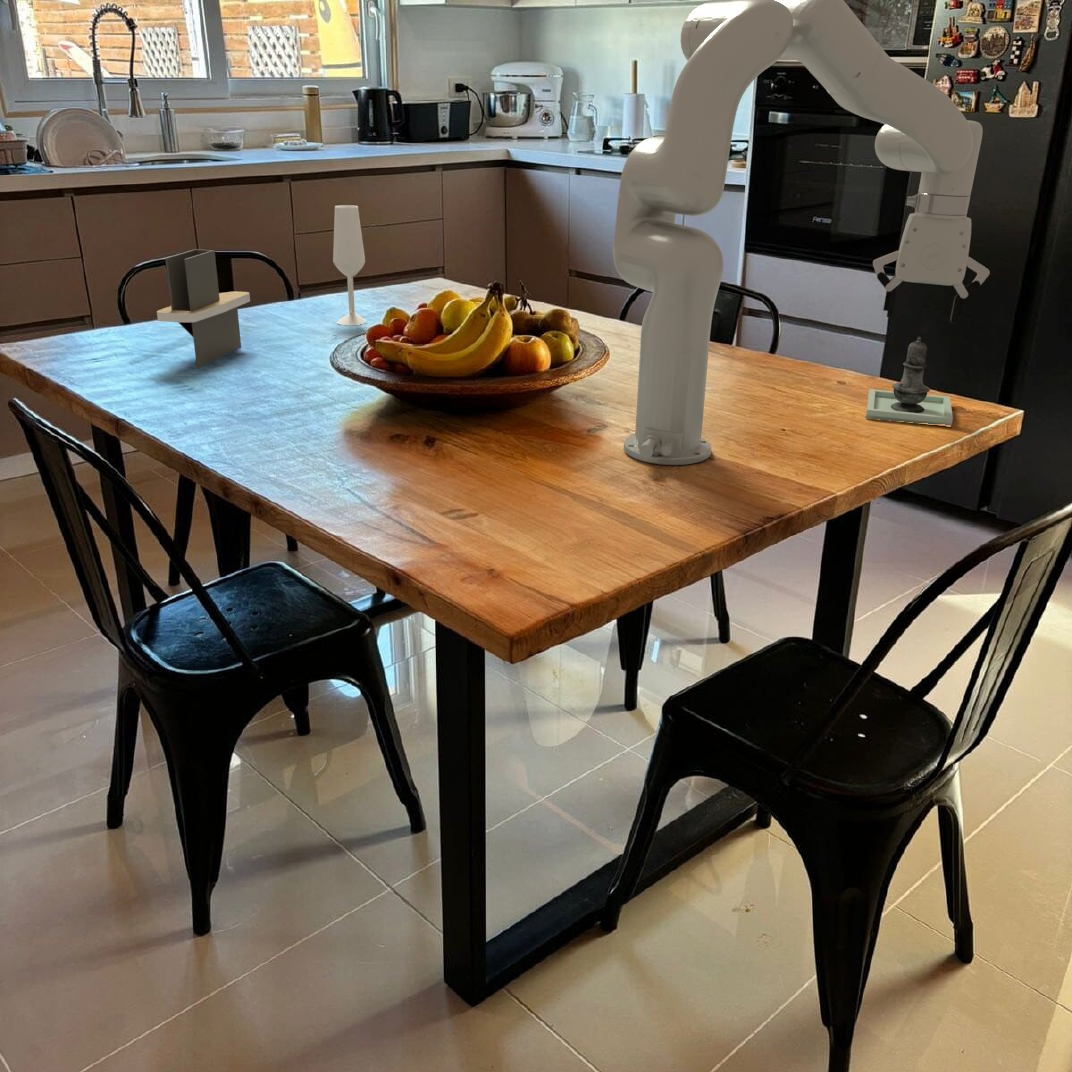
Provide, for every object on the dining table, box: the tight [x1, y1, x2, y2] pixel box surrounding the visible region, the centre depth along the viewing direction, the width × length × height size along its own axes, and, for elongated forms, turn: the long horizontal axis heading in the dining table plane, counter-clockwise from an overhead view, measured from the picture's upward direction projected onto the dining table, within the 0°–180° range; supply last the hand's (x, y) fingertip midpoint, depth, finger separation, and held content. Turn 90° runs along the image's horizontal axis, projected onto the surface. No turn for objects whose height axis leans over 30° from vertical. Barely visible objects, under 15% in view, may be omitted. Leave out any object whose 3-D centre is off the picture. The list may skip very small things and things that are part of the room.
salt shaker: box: [891, 336, 931, 413], centre depth 170 cm, size 6×6×12 cm
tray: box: [865, 388, 954, 425], centre depth 173 cm, size 13×13×2 cm
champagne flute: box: [332, 204, 367, 326], centre depth 222 cm, size 7×7×24 cm
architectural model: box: [156, 248, 251, 369], centre depth 194 cm, size 38×25×20 cm, turn 169°
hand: (920, 319), depth 167 cm, fingers open, 9 cm apart
